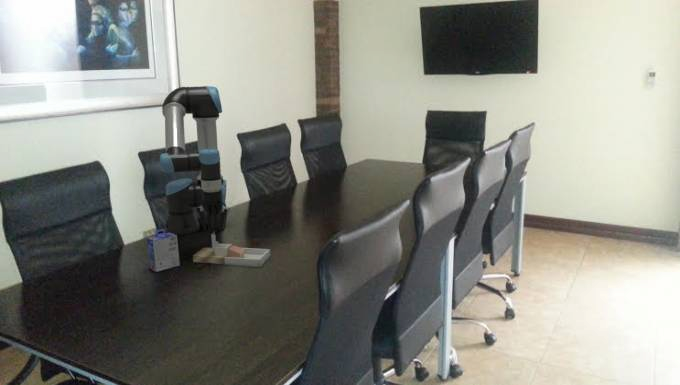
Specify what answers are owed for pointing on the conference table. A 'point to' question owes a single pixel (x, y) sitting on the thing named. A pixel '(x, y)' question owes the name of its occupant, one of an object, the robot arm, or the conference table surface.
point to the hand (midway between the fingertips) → (215, 249)
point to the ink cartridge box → (163, 251)
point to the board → (208, 256)
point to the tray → (250, 258)
